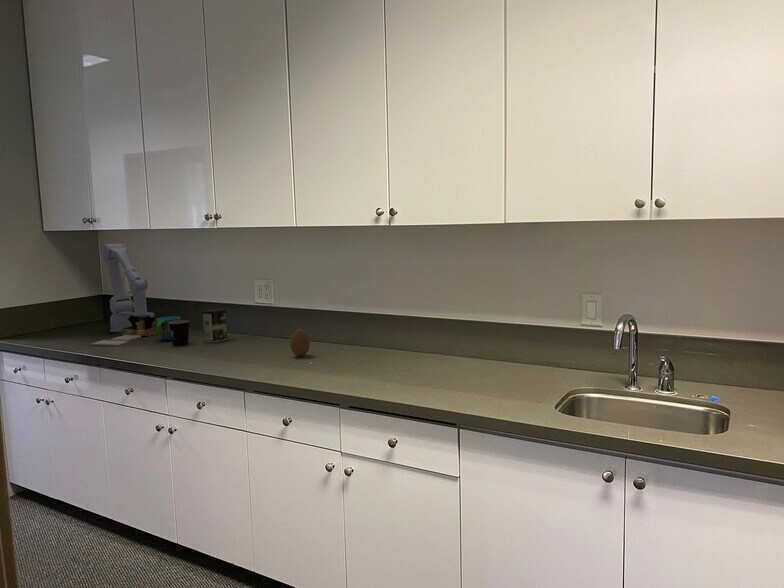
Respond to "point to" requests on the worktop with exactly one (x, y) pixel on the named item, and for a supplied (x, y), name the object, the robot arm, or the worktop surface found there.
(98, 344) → the frame lid
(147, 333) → the cold frame
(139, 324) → the clay pot
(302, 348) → the egg
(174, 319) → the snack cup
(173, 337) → the coffee mug
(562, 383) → the worktop surface
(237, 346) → the worktop surface
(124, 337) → the stone tile
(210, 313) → the coffee can
